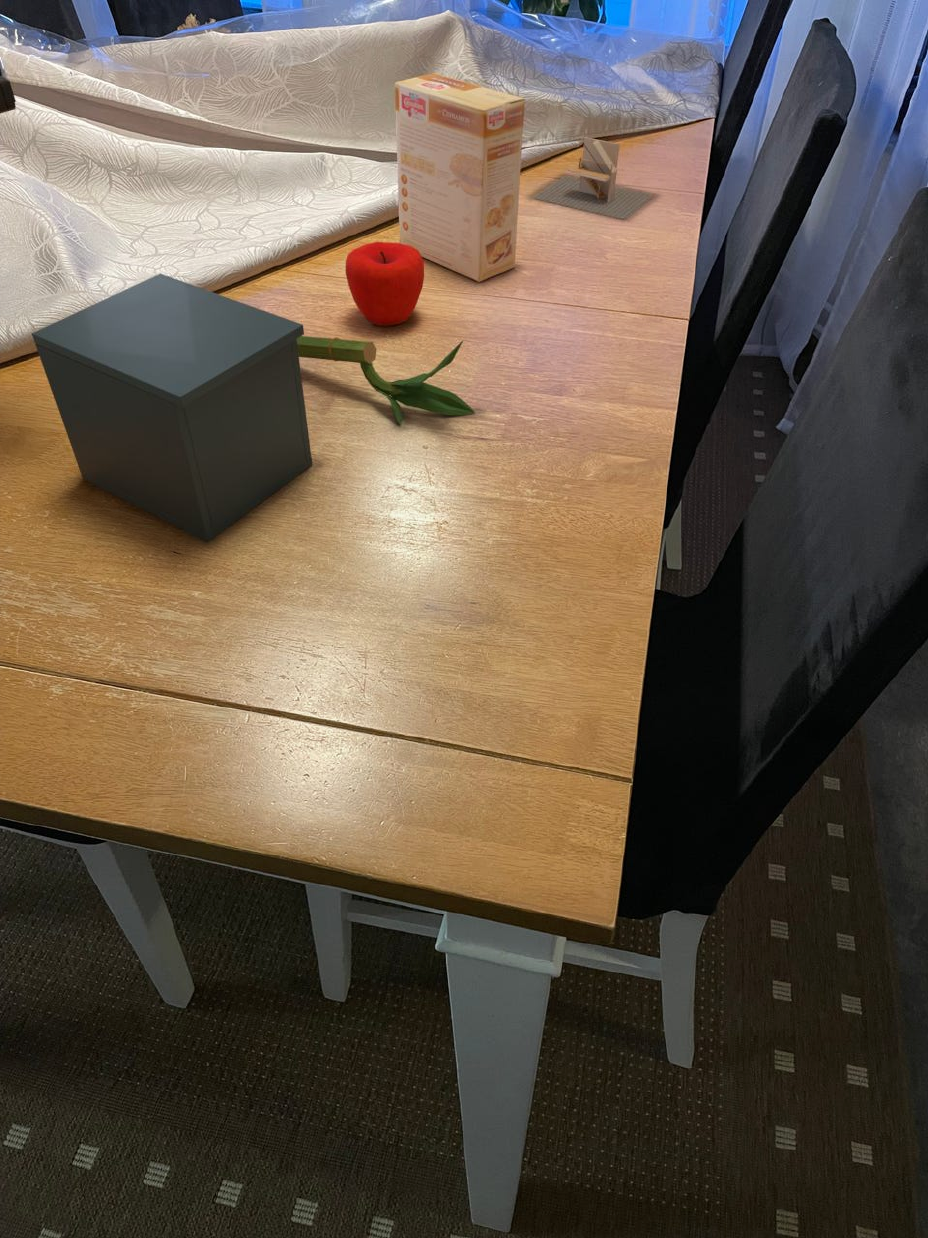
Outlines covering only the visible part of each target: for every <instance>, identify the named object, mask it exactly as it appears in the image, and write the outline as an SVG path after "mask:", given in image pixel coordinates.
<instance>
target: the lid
mask: <svg viewBox="0 0 928 1238" xmlns="http://www.w3.org/2000/svg"><path fill="white" fill-rule="evenodd" d="M31 336H32V340H33V342H34V344H38V345H40V346H42V347H45V348H47V349H49V350H52V351H54V352H56V353H59V354H61V355H63V356H66V357H68V358H70V359H72V360H75V361H77V362H79V363H82V364H84V365H86V366H89V367H91V368H93V369H95V370H98V371H100V372H102V373H105V374H107V375H109V376H112V377H114V378H116V379H119V380H121V381H123V382H125V383H128V384H130V385H132V386H135V387H137V388H139V389H142V390H144V391H146V392H149V393H151V394H153V395H155V396H158V397H160V398H162V399H165V400H167V401H169V402H172V403H174V404H176V405H179V406H181V407H184V406H185V405H187V404H189V403H190V402H192V401H194V400H195V399H197V398H199V397H200V396H202V395H204V394H205V393H207V392H209V391H210V390H212V389H214V388H215V387H217V386H219V385H220V384H222V383H224V382H225V381H227V380H229V379H230V378H232V377H234V376H235V375H237V374H239V373H240V372H242V371H244V370H245V369H247V368H249V367H250V366H252V365H254V364H255V363H257V362H259V361H260V360H262V359H264V358H265V357H267V356H269V355H270V354H272V353H274V352H275V351H277V350H279V349H280V348H282V347H284V346H285V345H287V344H289V343H290V342H292V341H294V340H295V339H297V338H299V337H300V336H305V329H304V324H302V323H299V322H297V321H294V320H291V319H288V318H285V317H283V316H280V315H278V314H274V313H271V312H269V311H267V310H263V309H260V308H257V307H255V306H252V305H250V304H247V303H244V302H241V301H238V300H235V299H233V298H230V297H227V296H224V295H221V294H219V293H215V292H213V291H210V290H207V289H204V288H202V287H199V286H197V285H194V284H191V283H188V282H185V281H182V280H179V279H178V278H177V279H176V278H174V277H172V276H169V275H166V274H163V273H159V274H156V275H154V276H152V277H149V278H147V279H146V280H143V281H140V282H139V283H137V284H135V285H133V286H130V287H128V288H126V289H124V290H122V291H120V292H118V293H116V294H113V295H110V296H109V297H107V298H105V299H102V300H101V301H98V302H96V303H94V304H91V305H89V306H87V307H85V308H83V309H81V310H79V311H77V312H75V313H72V314H70V315H68V316H66V317H64V318H62V319H60V320H58V321H55V322H52V323H51V324H49V325H47V326H45V327H43V328H40V329H38V330H36V331H33V332H31Z"/></svg>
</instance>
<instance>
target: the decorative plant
mask: <svg viewBox="0 0 928 1238" xmlns="http://www.w3.org/2000/svg"><path fill="white" fill-rule="evenodd" d="M463 343H464V340H461V341H460V342H459V344H457V345H456V346H455V347H454V348H453V349H452V350H451V351H450V352H449V353H448V354H447V355H446V356H445V357H444V358H443V359H442V360H441V362H439V364H438V365H437V366H436V367H434V369H433V370H431V371H430V372H428V373H427V372H426V373H425V372H424V373H420V374H418V375H415V376H412V377H410V378H406V379H405V378H404V379H397V380H395V381H387V380H385V379H384V378H382V377H381V376H380V375H379V374H378V372H377V371H376V369H375V367H374V365H373V362H374V361H375V360H376V355H377V348H376V345H375V343H374V342H373V341H366V340H355V339H353V340H352V339H343V338H342V339H341V338H339V337H333V338H332V337H331V338H330V337H319V336H305V335H302V336H300V337H299V338H297V347H298V354H299V358H305V359H306V358H307V359H315V360H327V361H334V362H345V363H355V364H359V365H360V368H361V371H362V374H363V376H364V378H365V380H366V381H367V382H368V384H369V385H370V386H371V387H372V388H373V389H374V390H375V391H376V392H377V393H380V394H381V395H383V396H384V397H385V398H387V400H388V401H389V404H390V405H391V406H392V410H393V413H394V415H395V418H396V420H397V422H398V424H399V426H402V418H403V410H402V407H401V405H400V404H402V405H403V406H406V407H411V408H416V409H419V410H422V411H423V410H424V411H426V412H430V413H436V414H440V415H445V416H465V415H470V414H476V411H475V409H472V407H471V406H470V405H469V404H468V403H467V402H466V401H465V400H463V399H462V398H461V397H460V396H458V395H457V394H455V393H454V392H452V391H449V390H447V389H444V388H441V387H438V386H435V385H433V384H429V383H426V382H425V381H427V380H428V379H429V378H432V377H433V376H434V375H435V374H437V373H438V372H439V371H441V370H442V369H444V368H445V367H447V366H449V365H450V364H451V363H452V362H453V361H454V359H455V357H456V356H457V354H458V352H459V350H460V348H461V346H462V344H463ZM399 403H400V404H399Z"/></svg>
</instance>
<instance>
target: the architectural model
mask: <svg viewBox="0 0 928 1238" xmlns="http://www.w3.org/2000/svg"><path fill="white" fill-rule="evenodd" d="M582 144H583V147H582V157H579V158H578V159H579V160H578V163H572V164H570V165H569V166H567V167H565V169H564V170H563V171H564V173H566V174H571V175H574V176H579V178H578V177H572V176H569V175H564V176H562V177H561V178H560V179H558V180H556V181H555V182H554V183H552V184H551V185H548V186H547V187H546V188H545V189H542V191H540V192H538V193H537V194H535V195H534V196H532V198H531V199H535V200H537V201H543V202H547V203H552V204H555V205H560V206H564V207H569V208H572V209H577V210H580V211H585V212H590V213H593V214H598V215H603V216H605V217H606V216H607V217H610V218H615V219H620V220H622V221H623V220H624V221H625V220H626V219H628V218H629V217H630V216H631V215H633V214H634V213H635V212H637V211H638V210H639V209H640V208H641V207H643V206H644V205H645V204H646V203H648V202H649V201H650V200H651V199H653V198H654V197H655V195H654V194H650V193H646V192H641V191H638V190H637V191H636V190H632V189H629V188H628V189H627V188H624V187H623V188H622V187H619V186H616V180H617V174H618V167H617V166H618V161H619V151H620V143H617V142H611V141H607V140H602V139H596V138H592V137H586V136H585V137H583V142H582Z"/></svg>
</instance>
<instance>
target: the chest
mask: <svg viewBox="0 0 928 1238" xmlns="http://www.w3.org/2000/svg"><path fill="white" fill-rule="evenodd" d="M34 345H35V348H36V350H37V353H38V356H39V359H40V361H41V365H42V367H43V370H44V373H45V376H46V379H47V382H48V384H49V387H50V390H51V393H52V395H53V398H54V402H55V404H56V407H57V409H58V413H59V415H60V418H61V421H62V424H63V426H64V429H65V433H66V435H67V438H68V440H69V443H70V446H71V449H72V452H73V454H74V458H75V461H76V463H77V466H78V469H79V472H80V474H81V477H82V479H83V480H84V481H86V482H87V483H90V484H91V485H94V486H95V487H98V488H99V489H101V490H103V491H105V492H107V493H110V494H111V495H113V496H115V497H117V498H120V499H122V501H123V500H124V501H125V502H127V503H129V504H131V505H133V506H135V507H137V508H138V509H139V508H140V509H141V510H143V511H145V512H147V513H149V514H151V515H153V516H154V517H157V518H159V519H161V520H162V521H165V522H167V523H169V524H171V525H173V526H175V527H177V528H179V529H181V530H183V531H185V532H186V533H188V534H190V535H193V536H195V537H196V538H199V539H201V540H203V541H205V542H207V543H209V542H210V541H212V540H213V539H214V538H216V537H217V536H218V535H220V534H221V533H223V532H224V531H226V530H227V529H228V528H229V527H230V526H232V525H233V524H234V523H236V522H237V521H239V520H240V519H241V518H243V517H244V516H246V515H247V514H248V513H249V512H251V511H252V510H253V509H255V508H256V507H257V506H260V504H261V503H263V502H264V501H266V500H267V499H268V498H269V497H271V496H272V495H273V494H275V493H276V492H278V491H280V489H282V488H283V487H284V486H286V485H287V484H288V483H290V482H291V481H292V480H294V479H296V478H297V477H298V476H299V475H300V474H302V473H303V472H305V471H306V470H307V469H308V468H311V466H313V458H312V450H311V443H310V435H309V427H308V421H307V420H308V418H307V412H306V403H305V396H304V395H305V394H304V387H303V379H302V372H301V363H300V362H301V361H300V357H299V354H298V347H297V339H295V340H294V341H292V342H290V343H289V344H287V345H285V346H284V347H282V348H280V349H279V350H277V351H275V352H274V353H272V354H270V355H269V356H267V357H265V358H264V359H262V360H260V361H259V362H257V363H255V364H254V365H252V366H250V367H249V368H247V369H245V370H244V371H242V372H240V373H239V374H237V375H235V376H234V377H232V378H230V379H229V380H227V381H225V382H224V383H222V384H220V385H219V386H217V387H215V388H214V389H212V390H210V391H209V392H207V393H205V394H204V395H202V396H200V397H199V398H197V399H195V400H194V401H192V402H190V403H189V404H187V405H185V406H184V407H181V406H179V405H176V404H174V403H172V402H169V401H167V400H165V399H162V398H160V397H158V396H155V395H153V394H151V393H149V392H146V391H144V390H142V389H139V388H137V387H135V386H132V385H130V384H128V383H125V382H123V381H121V380H119V379H116V378H114V377H112V376H109V375H107V374H105V373H102V372H100V371H98V370H95V369H93V368H91V367H89V366H86V365H84V364H82V363H79V362H77V361H75V360H72V359H70V358H68V357H66V356H63V355H61V354H59V353H56V352H54V351H52V350H49V349H47V348H45V347H42V346H40V345H38V344H36V343H34Z"/></svg>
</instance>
